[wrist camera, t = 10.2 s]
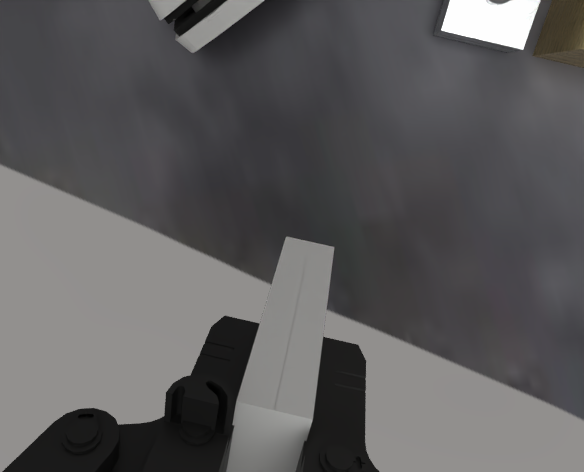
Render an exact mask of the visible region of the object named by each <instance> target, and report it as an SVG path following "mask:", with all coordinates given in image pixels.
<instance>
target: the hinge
mask: <svg viewBox="0 0 584 472" xmlns="http://www.w3.org/2000/svg"><path fill="white" fill-rule="evenodd" d="M263 1H264V0H149V2H150V4H151V6H152V8H153V9H154V11H155V13H156V15H157V16H158V18H159V20H162V19H163V18H164V19H165V20H166V21H167V23H168V24H169V23H171V22H172V21H174V20H175V19H176V18H177V19H176V20H175V26H174V31H175V32H176V41H178V42H179V43H180V44H181V45H183V46H184V47H185V48H186V49H187V50H189V51H190V52H191V53H194V52H196V51H197V50H199V49H200V48H201V47H203V46H204V45H206V44H207V43H208V42H210V41H211V40H213V39H214V38H215V37H217V36H218V35H219V34H221V33H222V32H224V31H225V30H226V29H228V28H229V27H230V26H232V25H233V24H234V23H236V22H237V21H238V20H240V19H241V18H242V17H243V16H245V15H246V14H247V13H249V12H250V11H251V10H253V9H254V8H255V7H257V6H258V5H259V4H261V3H262V2H263ZM181 14H182V15H181ZM180 15H181V16H180Z"/></svg>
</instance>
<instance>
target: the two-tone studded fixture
mask: <svg viewBox="0 0 584 472" xmlns="http://www.w3.org/2000/svg"><path fill="white" fill-rule="evenodd" d="M539 3H540V0H443V3H442V7H441V10H440V13H439V17H438V20H437V23H436V27H435V30H434V33H433V35H434V36H438V37H442V38H447V39H451V40H455V41H459V42H463V43H468V44H472V45H476V46H480V47H485V48H489V49H493V50H497V51H501V52H506V53H507V52H513V51H518V50H523V48H524V45H525V42H526V40H527V37H528V34H529V31H530V28H531V25H532V23H533V20H534V17H535V14H536V11H537V8H538V6H539Z"/></svg>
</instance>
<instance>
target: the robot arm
mask: <svg viewBox="0 0 584 472" xmlns="http://www.w3.org/2000/svg"><path fill="white" fill-rule="evenodd" d="M333 254H334V247H331V246H327V245H322V244H318V243H313V242H309V241H304V240H300V239H295V238H291V237H286V238H285V242H284V245H283V248H282V252H281V255H280V258H279V262H278V265H277V268H276V272H275V275H274V278H273V282H272V285H271V288H270V291H269V295H268V298H267V301H266V305H265V308H264V311H263V315H262V318H261V321H260V324H259V323H255V322H250V321H246V320H241V319H237V318H232V317H228V316H224V317H223V318H221V319H220V320H219V321H218V322H217V323H215V324H214V325H213V326H212V327H211V329H210V331H209V334H208V336H207V338H206V341H205V344H204V345H203V348H202V350H201V353H200V356H199V357H198V359H197V362H196V364H195V366H194V369H193V371H192V373H191V376H186V377H183V378H181V379H180V380H178V381H176V382H175V383H173V384H172V386H171V387H170V388H169V389H168V391H167V392H166V402H165V416H164V417H162V418H160V419H158V420H155V421H152V422H147V423H141V424H124V425H118V424H117V421H116V419H115V418H114V417H113V416H111V415H110V414H109V413H107V412H106V411H102V410H99V409H95V408H89V409H78V410H75V411H73V412H70V413H67V414H65V415H63V416H62V417H61V418H59V419H58V420H56V421H55V422H54V423H53V424H52V425H51V426H50V427H49V428H47V429H46V430H45V431H44V432H43V433H42V434H41V435H40V436H39V437H38V438H37V439H36V440H35V441H34V442H33V443H32V444H31V445H30V446H29V447H28V448H27V449H26V450H25V451H24V452H22V453H21V455H20V456H19V457H17V458H16V459H15V460H14V461H13V462H12V463H11V464H10V465H9V466H8V467H7V468H6V469H5V470H4V471H3V472H379V471H378V470H377V469H376V468H375V467H374V465H373V463H372V462H371V460H370V459H369V457H368V454H367V452H366V446H365V390H366V385H365V384H366V380H365V378H366V360H365V358H364V356H363V354H362V352H361V350H360V348H359V346H358V345H356V344H352V343H347V342H343V341H339V340H334V339H330V338H325V337H323V334H324V333H323V332H324V326H325V317H326V310H327V302H328V294H329V286H330V278H331V270H332V262H333Z"/></svg>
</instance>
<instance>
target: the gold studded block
mask: <svg viewBox="0 0 584 472" xmlns="http://www.w3.org/2000/svg"><path fill="white" fill-rule="evenodd" d="M533 56H535V57H539V58H544V59H548V60H552V61H556V62H561V63H565V64H569V65H573V66H578V67H582V68H584V0H552V3H551V6H550V8H549V11H548V14H547V17H546V20H545V22H544V25H543V28H542V31H541V34H540V36H539V39H538V42H537V45H536V47H535V50H534V53H533Z"/></svg>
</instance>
